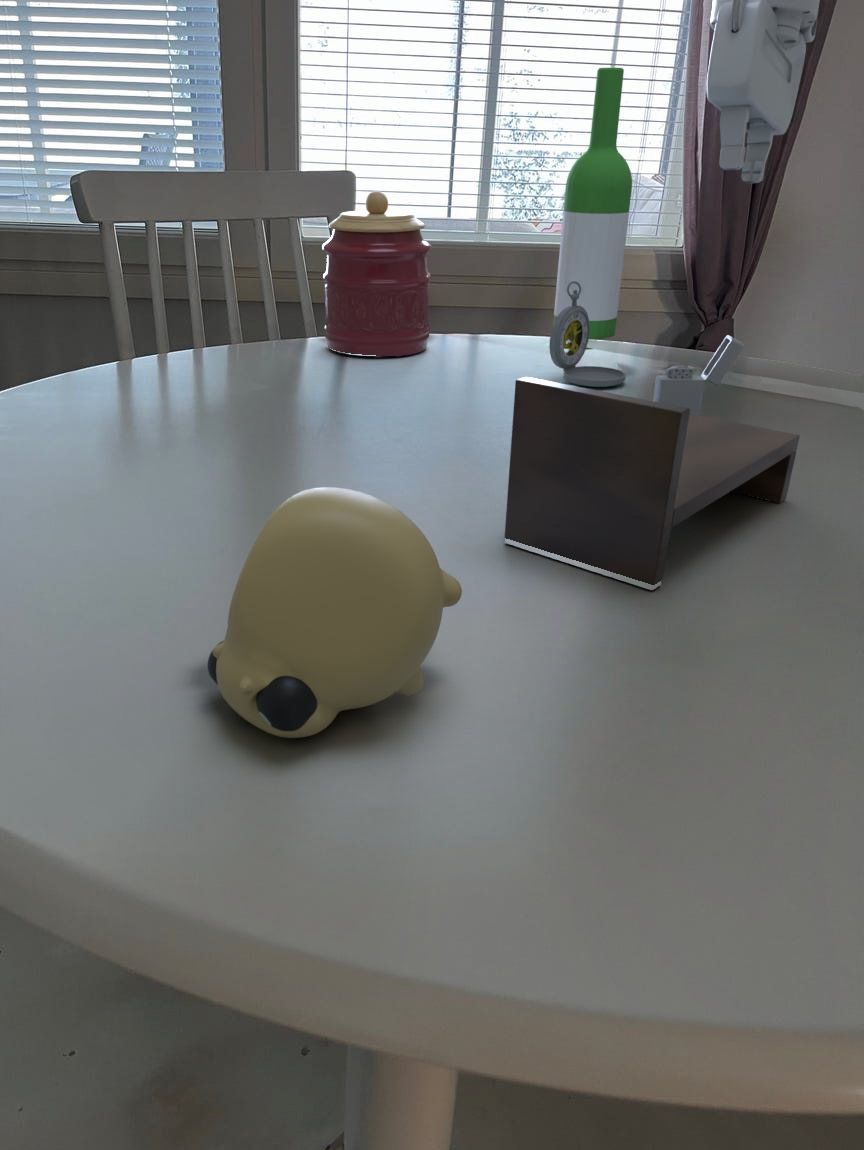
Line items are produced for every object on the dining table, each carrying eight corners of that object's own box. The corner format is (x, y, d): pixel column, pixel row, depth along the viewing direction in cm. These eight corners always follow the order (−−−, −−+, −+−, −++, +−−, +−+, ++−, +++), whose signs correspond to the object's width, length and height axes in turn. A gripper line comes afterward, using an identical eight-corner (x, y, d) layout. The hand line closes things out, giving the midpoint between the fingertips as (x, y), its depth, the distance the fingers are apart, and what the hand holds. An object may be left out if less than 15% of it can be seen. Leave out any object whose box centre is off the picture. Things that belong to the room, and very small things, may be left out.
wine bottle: (565, 352, 115) (593, 66, 100) (542, 339, 121) (564, 69, 107) (624, 349, 116) (659, 67, 102) (597, 337, 123) (627, 70, 108)
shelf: (786, 499, 70) (819, 350, 65) (652, 592, 57) (681, 412, 51) (652, 467, 77) (673, 329, 71) (503, 544, 63) (515, 379, 58)
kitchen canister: (303, 346, 117) (297, 190, 108) (380, 333, 125) (380, 186, 116) (372, 364, 109) (372, 197, 100) (450, 348, 116) (456, 191, 108)
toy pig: (287, 714, 51) (128, 637, 44) (406, 531, 51) (266, 424, 44) (384, 805, 44) (212, 731, 37) (524, 592, 44) (378, 476, 37)
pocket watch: (626, 391, 98) (639, 291, 93) (545, 387, 100) (554, 288, 95) (622, 373, 105) (634, 279, 101) (547, 370, 107) (555, 276, 102)
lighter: (653, 425, 87) (666, 337, 83) (649, 420, 89) (661, 333, 85) (729, 426, 87) (746, 338, 83) (724, 421, 89) (740, 334, 85)
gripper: (784, -43, 72) (755, 158, 76) (820, 25, 88) (794, 187, 93) (700, -31, 75) (677, 162, 79) (750, 33, 91) (729, 189, 96)
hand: (741, 176), depth 86 cm, fingers open, 8 cm apart
